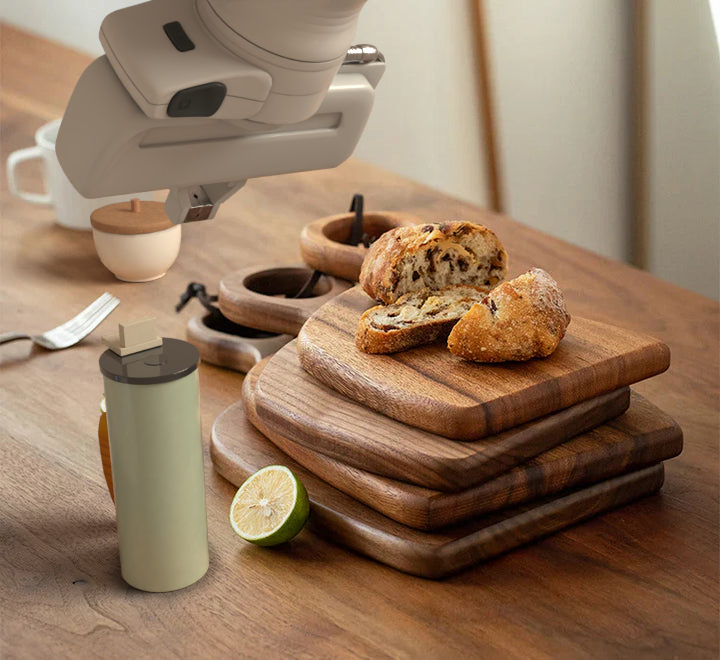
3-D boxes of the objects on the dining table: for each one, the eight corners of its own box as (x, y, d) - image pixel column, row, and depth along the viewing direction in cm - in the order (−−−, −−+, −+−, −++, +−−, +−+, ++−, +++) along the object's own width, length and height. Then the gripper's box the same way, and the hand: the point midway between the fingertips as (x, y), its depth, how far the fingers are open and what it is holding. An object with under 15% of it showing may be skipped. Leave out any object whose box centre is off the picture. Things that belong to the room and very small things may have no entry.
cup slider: (120, 356, 82) (118, 327, 81) (101, 343, 84) (98, 315, 83) (162, 345, 84) (160, 316, 83) (142, 332, 86) (140, 304, 85)
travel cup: (147, 606, 84) (128, 386, 77) (102, 561, 90) (81, 352, 82) (229, 570, 89) (219, 359, 81) (181, 530, 94) (168, 328, 87)
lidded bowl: (166, 292, 148) (161, 214, 144) (80, 285, 150) (73, 208, 146) (197, 262, 159) (193, 190, 155) (117, 256, 162) (111, 185, 157)
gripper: (369, 12, 69) (290, 165, 78) (75, 14, 56) (22, 197, 65) (422, 79, 66) (333, 229, 76) (127, 98, 54) (64, 276, 63)
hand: (187, 215), depth 71 cm, fingers closed
